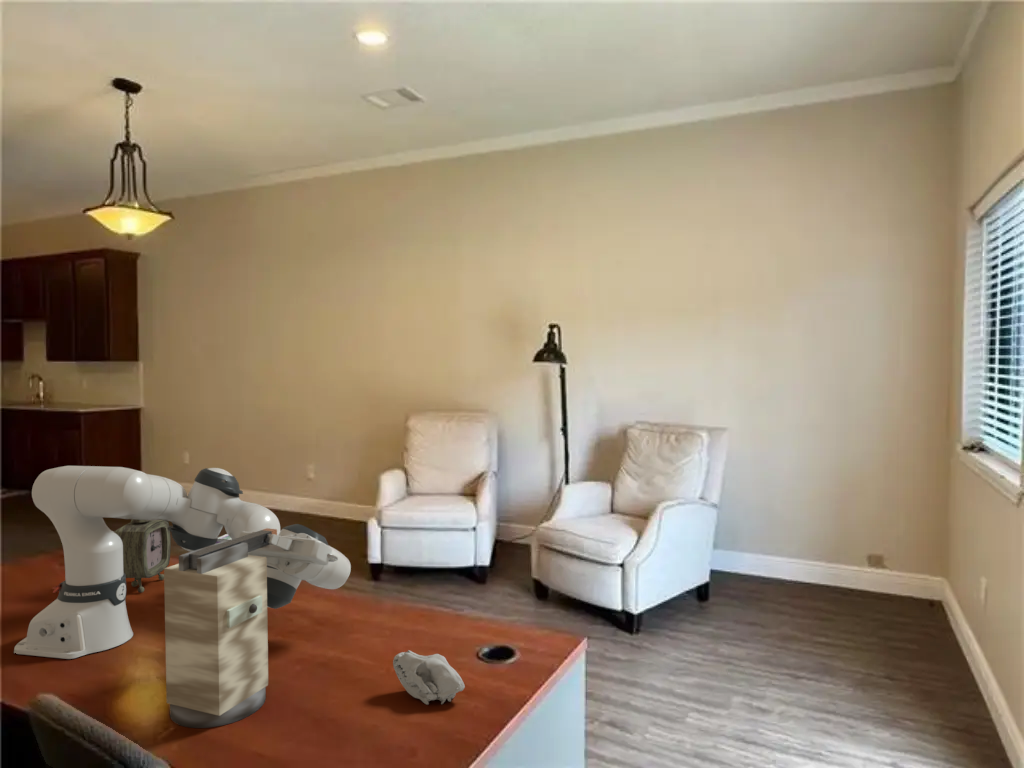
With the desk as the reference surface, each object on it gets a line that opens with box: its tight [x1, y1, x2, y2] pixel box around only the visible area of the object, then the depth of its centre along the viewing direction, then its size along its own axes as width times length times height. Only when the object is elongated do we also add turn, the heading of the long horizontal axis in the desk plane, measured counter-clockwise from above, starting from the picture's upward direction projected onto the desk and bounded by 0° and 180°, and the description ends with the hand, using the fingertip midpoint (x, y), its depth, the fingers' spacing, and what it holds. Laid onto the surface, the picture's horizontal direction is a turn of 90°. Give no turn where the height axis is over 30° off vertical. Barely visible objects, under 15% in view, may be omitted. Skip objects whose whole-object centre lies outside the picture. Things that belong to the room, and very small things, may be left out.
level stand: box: [163, 540, 269, 729], centre depth 125 cm, size 16×16×29 cm
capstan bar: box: [189, 528, 277, 569], centre depth 129 cm, size 20×2×2 cm, turn 159°
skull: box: [392, 649, 466, 706], centre depth 129 cm, size 9×10×13 cm
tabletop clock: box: [113, 519, 172, 594], centre depth 191 cm, size 14×9×25 cm, turn 179°
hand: (260, 536), depth 135 cm, fingers open, 3 cm apart
